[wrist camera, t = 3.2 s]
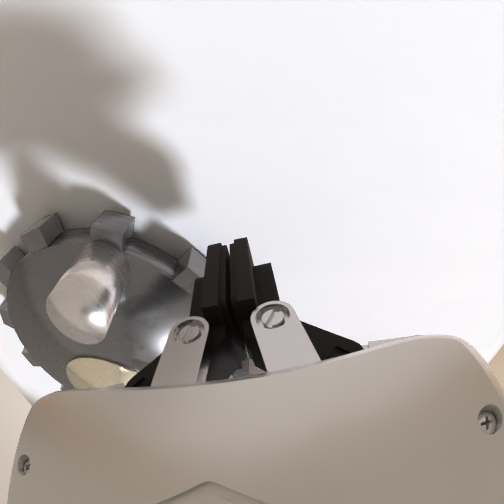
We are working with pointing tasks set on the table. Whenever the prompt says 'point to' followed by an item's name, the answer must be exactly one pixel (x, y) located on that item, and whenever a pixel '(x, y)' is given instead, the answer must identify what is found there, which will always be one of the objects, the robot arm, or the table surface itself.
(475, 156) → the table surface
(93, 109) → the table surface
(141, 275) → the sprocket
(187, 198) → the table surface
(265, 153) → the table surface
